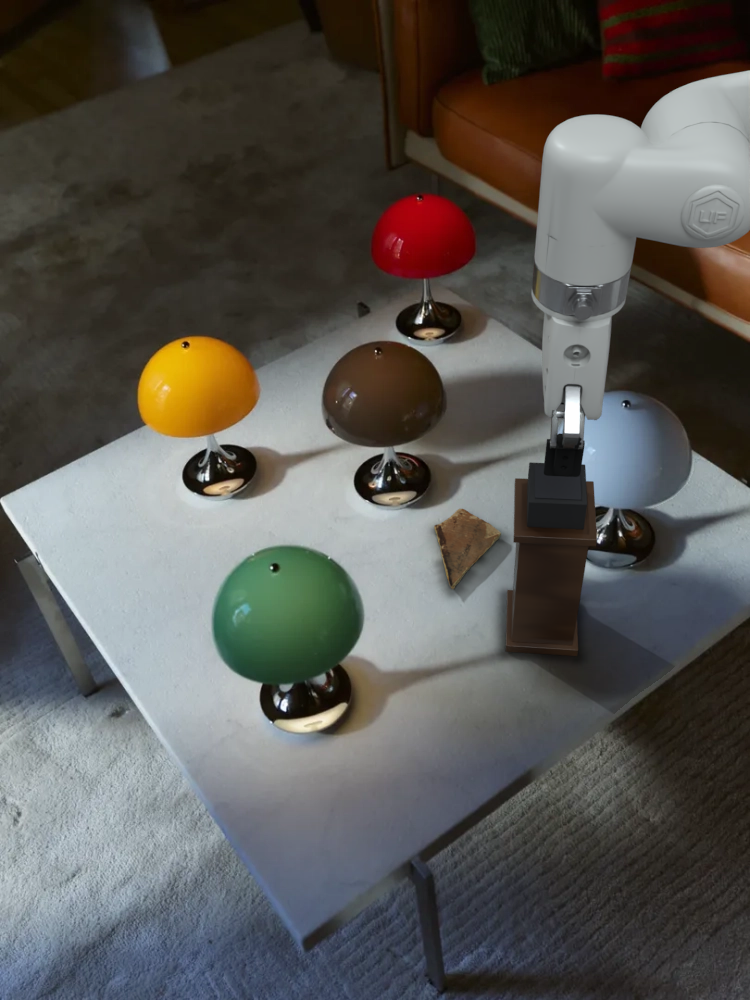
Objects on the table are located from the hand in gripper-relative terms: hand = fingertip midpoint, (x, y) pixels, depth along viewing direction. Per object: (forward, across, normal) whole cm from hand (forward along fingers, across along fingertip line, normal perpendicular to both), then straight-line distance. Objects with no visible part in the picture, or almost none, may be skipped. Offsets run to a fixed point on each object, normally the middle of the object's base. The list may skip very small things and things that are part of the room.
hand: (560, 436), depth 88 cm
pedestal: (+30, 0, 0) cm, 30 cm away
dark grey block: (+10, 0, 0) cm, 10 cm away
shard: (+30, +10, +8) cm, 33 cm away
